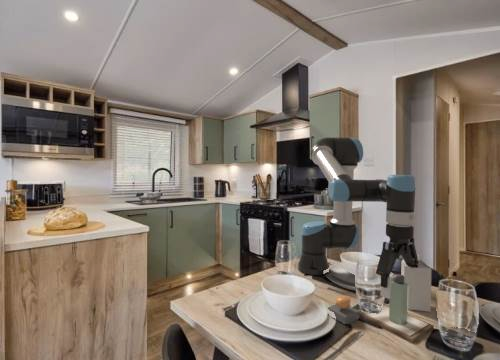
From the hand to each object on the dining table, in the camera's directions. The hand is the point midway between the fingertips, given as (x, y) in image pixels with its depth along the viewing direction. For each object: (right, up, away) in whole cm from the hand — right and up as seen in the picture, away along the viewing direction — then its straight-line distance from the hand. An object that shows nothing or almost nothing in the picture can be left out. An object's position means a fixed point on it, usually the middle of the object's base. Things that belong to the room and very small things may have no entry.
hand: (397, 291), depth 83 cm
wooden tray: (-1, -10, +2) cm, 10 cm away
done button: (-16, -6, +4) cm, 17 cm away
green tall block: (0, -9, 0) cm, 9 cm away
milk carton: (+13, -10, +11) cm, 20 cm away
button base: (-16, -10, +4) cm, 19 cm away
